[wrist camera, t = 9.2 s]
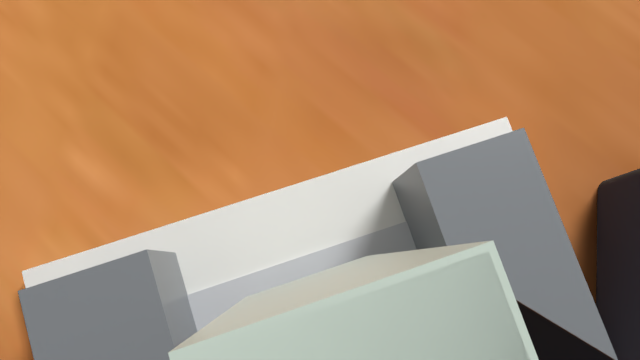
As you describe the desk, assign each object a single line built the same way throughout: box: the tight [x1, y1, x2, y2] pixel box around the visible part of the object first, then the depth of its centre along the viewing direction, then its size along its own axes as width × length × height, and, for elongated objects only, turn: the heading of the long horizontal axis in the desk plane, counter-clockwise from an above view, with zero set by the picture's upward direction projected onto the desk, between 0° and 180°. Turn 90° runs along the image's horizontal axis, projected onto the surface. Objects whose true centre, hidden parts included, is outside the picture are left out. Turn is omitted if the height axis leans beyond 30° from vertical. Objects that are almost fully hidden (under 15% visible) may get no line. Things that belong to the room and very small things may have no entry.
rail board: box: [18, 117, 618, 360], centre depth 16 cm, size 18×10×4 cm, turn 109°
